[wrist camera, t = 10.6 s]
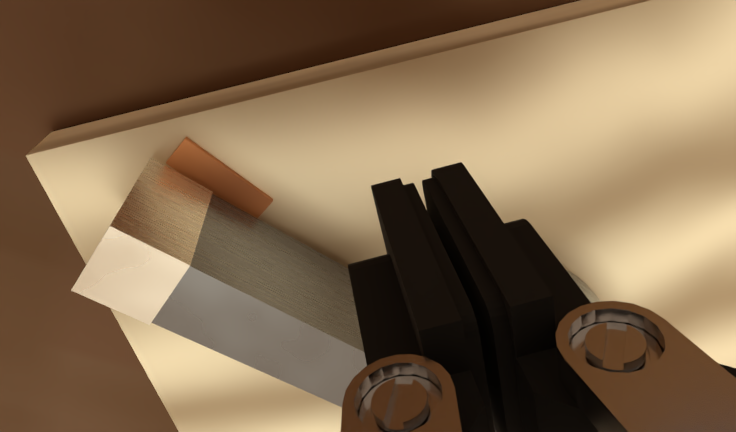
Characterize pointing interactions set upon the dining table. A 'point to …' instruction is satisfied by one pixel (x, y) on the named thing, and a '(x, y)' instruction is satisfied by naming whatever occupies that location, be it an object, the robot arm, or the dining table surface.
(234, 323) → the silver piece
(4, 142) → the dining table surface
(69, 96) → the dining table surface
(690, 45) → the board
